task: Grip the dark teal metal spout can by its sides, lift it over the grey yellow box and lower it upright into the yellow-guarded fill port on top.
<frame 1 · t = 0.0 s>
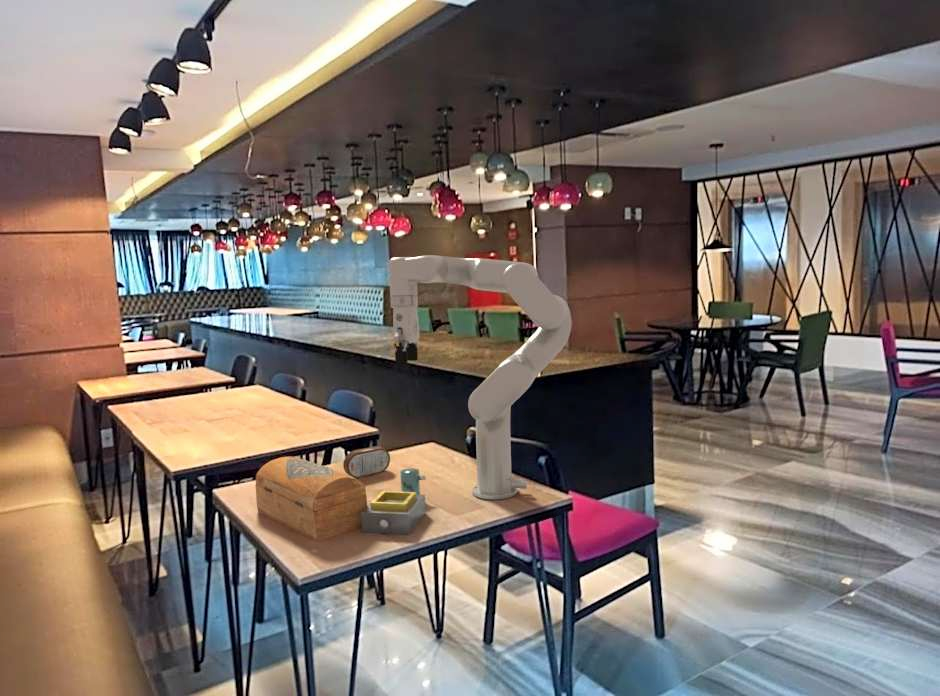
hand: (407, 362, 193), 37 cm above the table, tool pointing down, fingers open, 9 cm apart
spout can: (411, 499, 189), on the table
tin: (368, 475, 213), on the table
wooden box: (313, 519, 178), on the table
grey yellow box: (394, 522, 172), on the table
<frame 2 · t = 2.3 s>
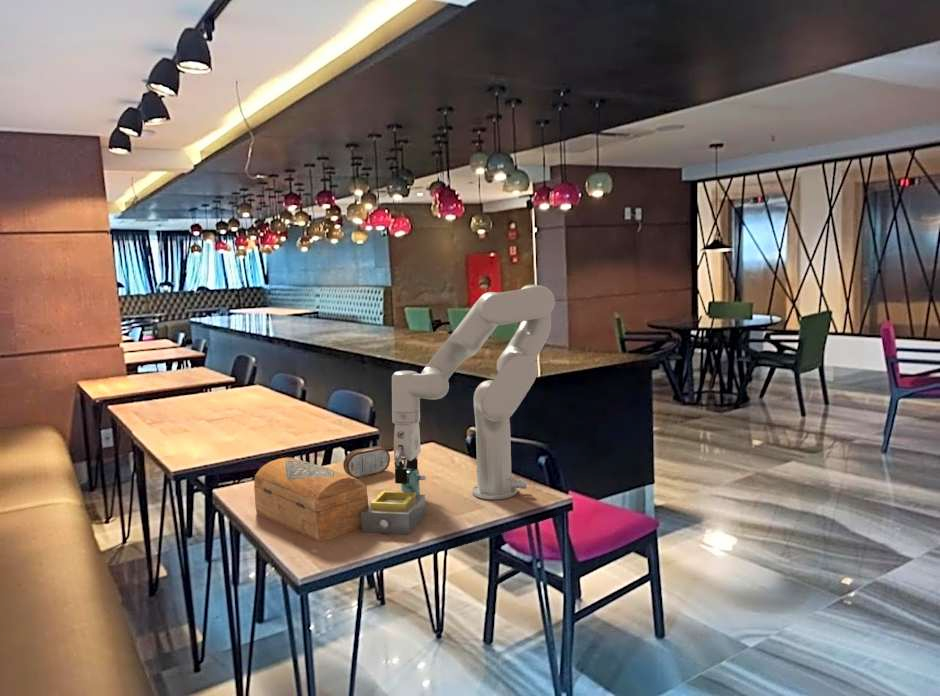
hand: (406, 477, 188), 6 cm above the table, tool pointing down, fingers open, 9 cm apart
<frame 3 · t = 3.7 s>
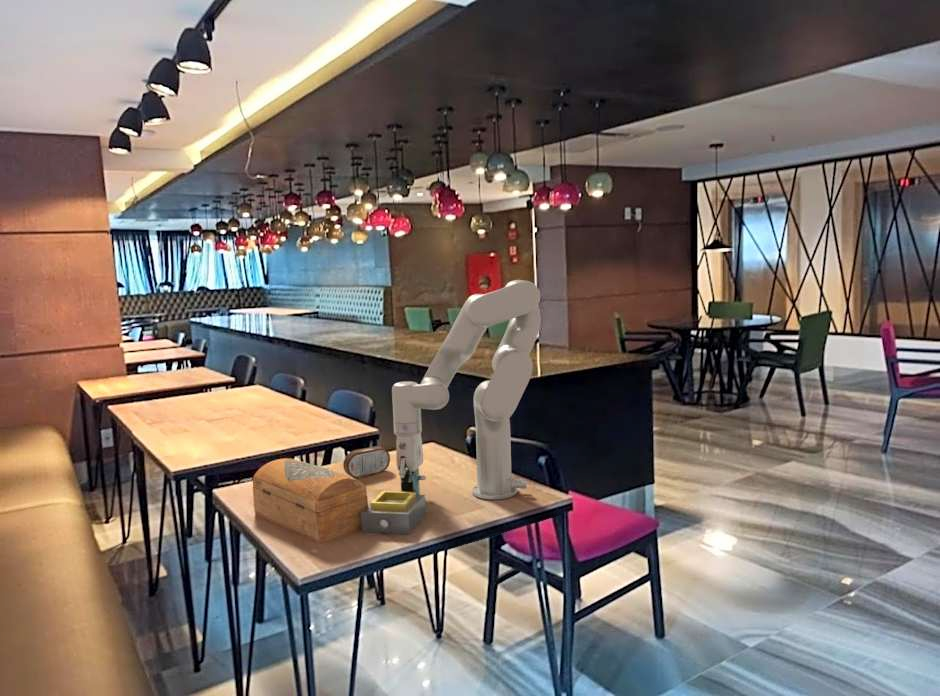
hand: (410, 491, 189), 2 cm above the table, tool pointing down, fingers closed on spout can, 5 cm apart
spout can: (410, 499, 189), on the table, touching gripper
when the fingers open (8 cm above the table, at t = 9.8 s): spout can stays where it is, resting on grey yellow box.
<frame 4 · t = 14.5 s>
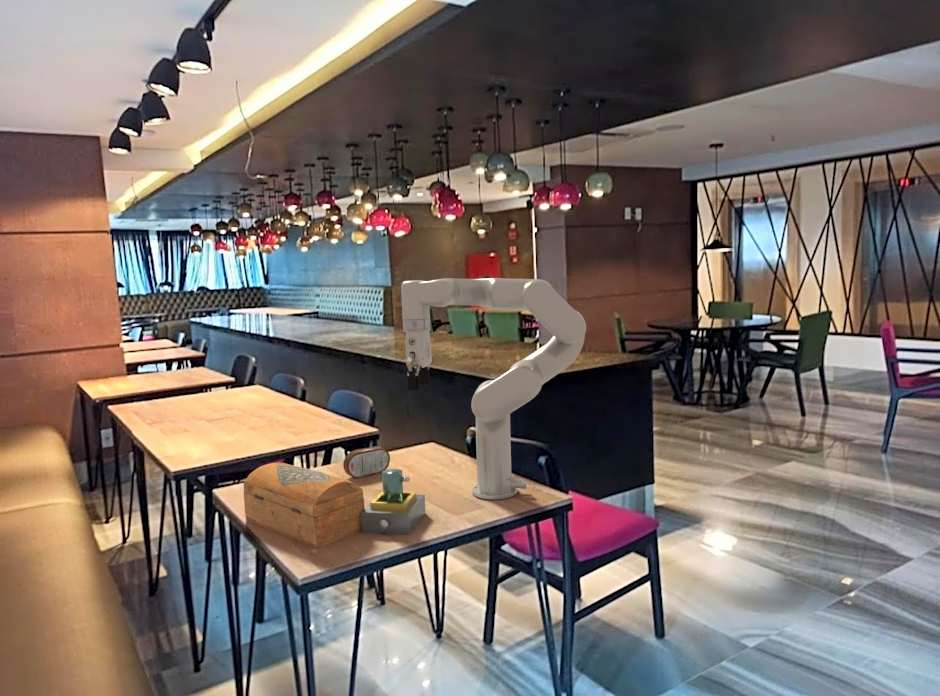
hand: (419, 386, 191), 30 cm above the table, tool pointing down, fingers open, 9 cm apart
spout can: (393, 502, 172), point 5 cm above the table, touching grey yellow box
wooden box: (306, 525, 173), on the table
everything else where it was.
at the end: spout can 0.1 cm off-centre on the grey yellow box, point 5.0 cm above the grey yellow box's base; spout can tilted 1°; the gripper is holding nothing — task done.
